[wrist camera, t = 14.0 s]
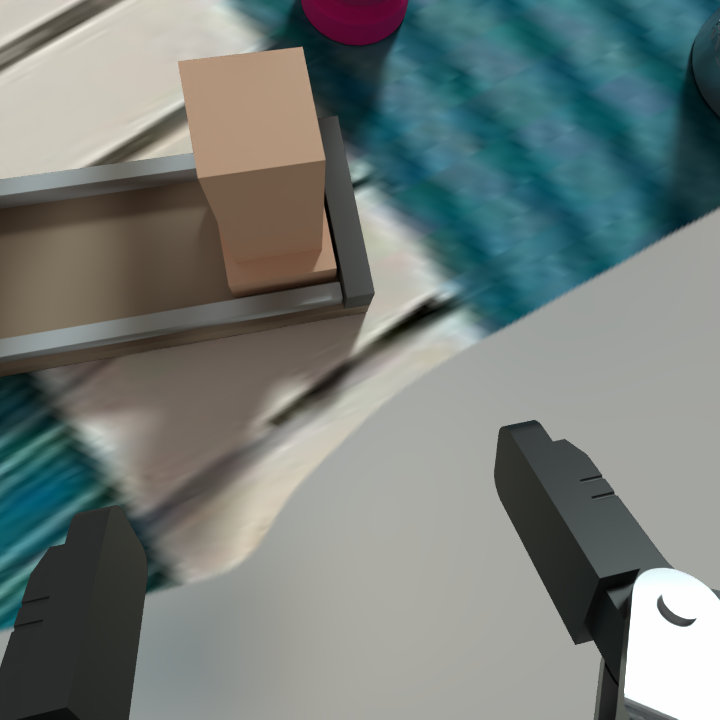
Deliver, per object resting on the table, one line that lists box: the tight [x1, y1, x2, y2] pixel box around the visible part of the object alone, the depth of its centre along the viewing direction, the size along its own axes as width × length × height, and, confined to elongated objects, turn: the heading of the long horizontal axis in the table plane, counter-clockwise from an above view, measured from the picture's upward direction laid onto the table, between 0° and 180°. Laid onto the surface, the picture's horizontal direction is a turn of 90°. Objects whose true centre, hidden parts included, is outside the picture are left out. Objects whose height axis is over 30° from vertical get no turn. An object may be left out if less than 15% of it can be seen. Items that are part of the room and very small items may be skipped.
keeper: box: [178, 47, 337, 298], centre depth 22 cm, size 5×6×10 cm
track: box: [0, 116, 375, 377], centre depth 26 cm, size 20×9×4 cm, turn 102°
